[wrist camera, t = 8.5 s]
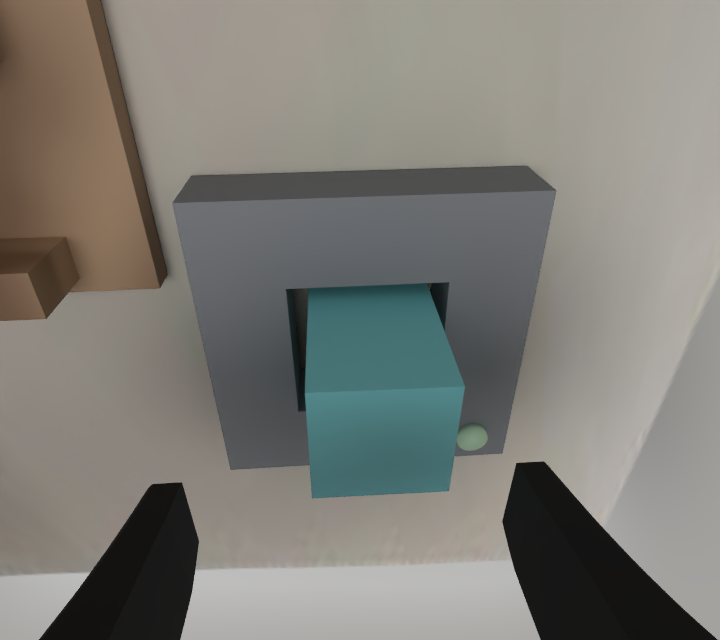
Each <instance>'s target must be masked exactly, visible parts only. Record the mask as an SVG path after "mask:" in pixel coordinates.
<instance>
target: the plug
mask: <svg viewBox="0 0 720 640" xmlns="http://www.w3.org/2000/svg"><path fill="white" fill-rule="evenodd" d="M464 390H465V385H464V383H463V380H462V377H461V375H460V372H459V369H458V366H457V364H456V361H455V358H454V356H453V353H452V350H451V347H450V345H449V342H448V339H447V337H446V334H445V331H444V328H443V326H442V323H441V320H440V318H439V315H438V312H437V309H436V307H435V304H434V301H433V299H432V296H431V293H430V290H429V288H428V285H427V283H419V284H395V285H371V286H347V287H323V288H309V289H308V318H307V346H306V374H305V403H306V417H307V432H308V446H309V461H310V475H311V490H312V498H326V497H345V496H364V495H383V494H403V493H422V492H441V491H449V486H450V479H451V473H452V467H453V460H454V454H455V447H456V441H457V435H458V428H459V422H460V415H461V409H462V403H463V396H464Z"/></svg>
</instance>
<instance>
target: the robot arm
mask: <svg viewBox="0 0 720 640" xmlns="http://www.w3.org/2000/svg"><path fill="white" fill-rule="evenodd" d="M502 522H503V526H504V530H505V534H506V538H507V543H508V547H509V550H510V554H511V558H512V562H513V565H514V569H515V572H516V575H517V577H518V580H519V583H520V586H521V588H522V591H523V594H524V596H525V599H526V602H527V604H528V607H529V609H530V612H531V615H532V617H533V620H534V623H535V626H536V628H537V631H538V634H539V636H540V639H541V640H717V639H716V638H715V637H714V636H713V635H712V634H711V633H709V632H708V631H707V630H706V629H705V628H704V627H703V626H701V625H700V624H699V623H698V622H697V621H696V620H695V619H694V618H693V617H691V616H690V615H689V614H688V613H687V612H686V611H685V610H684V609H683V608H681V606H680V605H678V604H677V603H676V602H675V601H674V600H673V599H672V598H671V597H670V596H669V595H668V594H667V593H666V592H665V591H664V590H663V589H662V588H661V587H660V586H659V585H658V584H657V583H656V582H655V581H654V580H653V579H652V578H651V577H650V576H648V575H647V574H646V572H645V571H643V569H641V567H639V565H638V564H637V563H636V562H635V561H634V560H633V559H632V558H631V557H630V556H629V555H628V554H627V553H626V552H625V551H624V550H623V549H622V548H621V547H620V546H619V545H618V543H617V542H616V541H615V540H614V539H613V538H612V537H611V536H610V535H609V534H608V533H607V532H606V531H605V530H604V529H603V527H602V526H601V525H600V524H599V523H598V522H597V521H596V520H595V519H594V518H593V516H592V515H591V514H590V513H589V512H588V511H587V510H586V509H585V507H584V506H583V505H582V504H581V503H580V502H579V501H578V500H577V498H576V497H575V496H574V495H573V494H572V493H571V492H570V490H569V489H568V488H567V487H566V486H565V485H564V484H563V482H562V481H561V480H560V479H559V478H558V477H557V475H556V474H555V473H554V472H553V471H552V470H551V468H550V467H549V466H548V465H547V464H546V463H545V462H527V463H516V467H515V472H514V476H513V480H512V484H511V488H510V492H509V496H508V501H507V505H506V509H505V513H504V517H503V521H502ZM198 545H199V540H198V536H197V533H196V530H195V526H194V523H193V519H192V516H191V512H190V509H189V505H188V502H187V498H186V495H185V492H184V488H183V485H182V482H181V483H164V484H152V485H151V486H150V487H149V488H148V489H147V491H146V492H145V494H144V495H143V497H142V499H141V500H140V502H139V503H138V505H137V506H136V508H135V509H134V511H133V512H132V514H131V515H130V517H129V518H128V520H127V521H126V523H125V524H124V526H123V527H122V529H121V530H120V532H119V533H118V535H117V536H116V538H115V539H114V540H113V542H112V543H111V545H110V546H109V548H108V549H107V551H106V552H105V553H104V555H103V556H102V557H101V559H100V560H99V562H98V563H97V564H96V566H95V567H94V569H93V570H92V571H91V573H90V574H89V576H88V577H87V578H86V580H85V581H84V582H83V584H82V585H81V586H80V588H79V589H78V591H77V592H76V593H75V595H74V596H73V597H72V599H71V600H70V601H69V602H68V603H67V605H66V606H65V607H64V609H63V610H62V611H61V613H60V614H59V615H58V616H57V617H56V619H55V620H54V622H53V623H52V624H51V625H50V626H49V628H48V629H47V630H46V632H45V633H44V634H43V635H42V637H41V638H40V639H39V640H180V638H181V634H182V630H183V626H184V622H185V618H186V614H187V610H188V606H189V602H190V597H191V594H192V588H193V581H194V574H195V568H196V560H197V552H198Z"/></svg>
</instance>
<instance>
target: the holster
mask: <svg viewBox="0 0 720 640" xmlns="http://www.w3.org/2000/svg"><path fill="white" fill-rule="evenodd" d="M166 276H167V271H166V267H165V263H164V259H163V255H162V251H161V247H160V243H159V238H158V234H157V230H156V226H155V222H154V218H153V214H152V210H151V206H150V202H149V197H148V193H147V189H146V185H145V181H144V177H143V173H142V169H141V165H140V161H139V156H138V152H137V148H136V144H135V140H134V136H133V132H132V128H131V124H130V120H129V116H128V111H127V107H126V103H125V99H124V95H123V91H122V87H121V83H120V79H119V75H118V70H117V66H116V62H115V58H114V54H113V50H112V46H111V42H110V38H109V34H108V29H107V25H106V21H105V17H104V13H103V9H102V5H101V1H100V0H0V321H9V320H32V319H47V317H48V316H49V315H50V314H51V313H52V311H53V310H54V309H55V308H56V307H57V305H58V304H59V303H60V302H61V301H62V299H63V298H64V297H65V296H66V295H67V293H68V292H82V291H106V290H131V289H155V288H160V287H161V285H162V284H163V282H164V280H165V278H166Z"/></svg>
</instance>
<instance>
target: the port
mask: <svg viewBox="0 0 720 640" xmlns="http://www.w3.org/2000/svg"><path fill="white" fill-rule="evenodd" d="M555 195H556V190H555V189H554V188H553V187H552V186H550V185H549V184H548V183H547V182H546V181H544V180H543V179H542V178H541V177H540V176H538V175H537V174H536V173H535V172H534V171H532V170H531V169H530V168H529V167H528V166H506V167H473V168H440V169H406V170H373V171H340V172H307V173H274V174H240V175H207V176H191V177H190V178H189V180H188V181H187V183H186V184H185V186H184V187H183V189H182V190H181V191H180V193H179V194H178V196H177V197H176V199H175V200H174V201H173V203H172V204H173V208H174V213H175V217H176V222H177V226H178V231H179V236H180V240H181V245H182V249H183V254H184V258H185V263H186V268H187V272H188V277H189V281H190V286H191V290H192V295H193V300H194V304H195V309H196V313H197V318H198V322H199V327H200V332H201V336H202V341H203V345H204V350H205V354H206V359H207V364H208V368H209V373H210V377H211V382H212V386H213V391H214V395H215V400H216V405H217V409H218V414H219V418H220V423H221V427H222V432H223V437H224V441H225V446H226V450H227V455H228V459H229V464H230V469H231V470H234V469H250V468H267V467H284V466H300V465H310V461H309V446H308V432H307V417H306V403H305V374H306V369H302V370H300V360H299V349H298V339H297V328H296V317H295V307H294V296H293V289H300V288H323V287H347V286H371V285H395V284H419V283H432V287H431V296H432V299H433V301H434V304H435V307H436V309H437V312H438V315H439V318H440V320H441V323H442V326H443V328H444V331H445V334H446V337H447V339H448V342H449V345H450V347H451V350H452V353H453V356H454V358H455V361H456V364H457V366H458V369H459V372H460V375H461V377H462V380H463V383H464V385H465V390H464V396H463V403H462V409H461V415H460V422H459V428H458V435H457V441H456V447H455V454H454V456H467V455H484V454H500V453H503V448H504V443H505V438H506V433H507V428H508V424H509V419H510V414H511V409H512V404H513V399H514V394H515V389H516V385H517V380H518V375H519V370H520V365H521V360H522V355H523V351H524V346H525V341H526V336H527V331H528V326H529V321H530V316H531V312H532V307H533V302H534V297H535V292H536V287H537V282H538V278H539V273H540V268H541V263H542V258H543V253H544V248H545V243H546V239H547V234H548V229H549V224H550V219H551V214H552V209H553V205H554V200H555Z"/></svg>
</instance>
